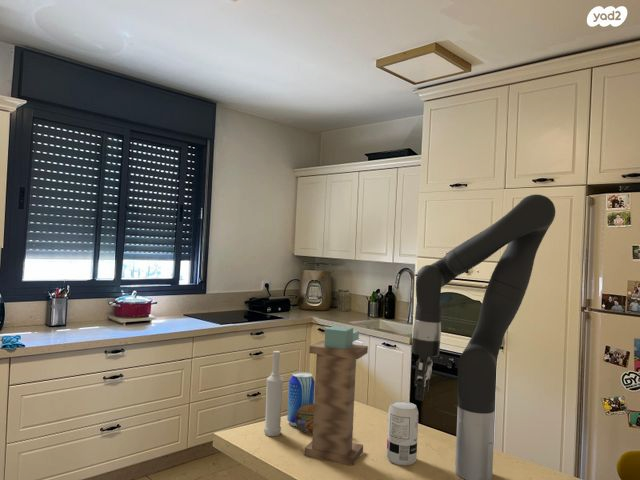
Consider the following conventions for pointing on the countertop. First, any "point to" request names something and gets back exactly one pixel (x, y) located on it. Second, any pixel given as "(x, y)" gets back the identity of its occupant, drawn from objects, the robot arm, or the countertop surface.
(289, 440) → the countertop surface
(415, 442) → the supplement can
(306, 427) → the tin
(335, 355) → the stand
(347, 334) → the mallet
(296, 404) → the beer can
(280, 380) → the bottle
